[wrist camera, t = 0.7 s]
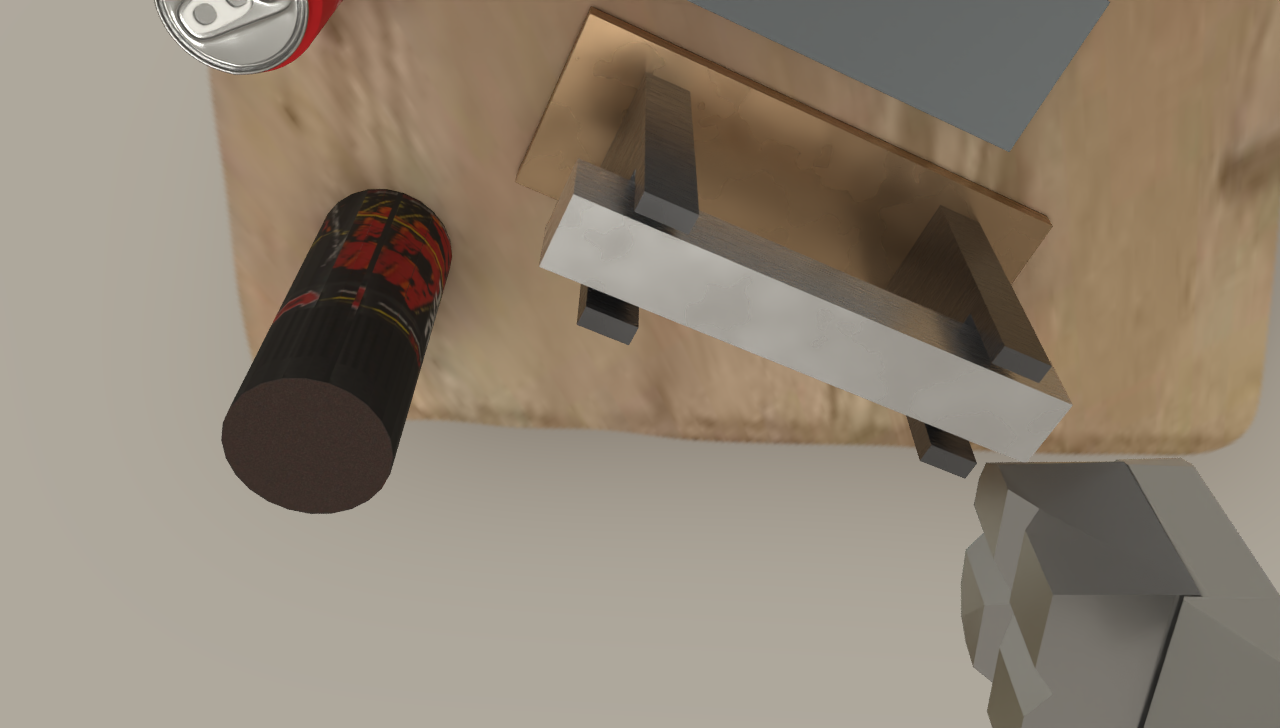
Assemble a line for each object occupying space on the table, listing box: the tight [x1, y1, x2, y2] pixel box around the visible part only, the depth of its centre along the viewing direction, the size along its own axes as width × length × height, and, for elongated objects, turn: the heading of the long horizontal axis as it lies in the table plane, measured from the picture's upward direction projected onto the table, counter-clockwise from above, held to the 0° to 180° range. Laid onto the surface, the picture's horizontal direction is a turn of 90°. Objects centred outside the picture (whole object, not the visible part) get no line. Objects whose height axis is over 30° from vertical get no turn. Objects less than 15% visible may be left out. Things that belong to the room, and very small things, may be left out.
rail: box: [539, 158, 1072, 462], centre depth 45 cm, size 20×3×3 cm, turn 65°
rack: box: [515, 6, 1053, 478], centre depth 48 cm, size 8×22×12 cm, turn 65°
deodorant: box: [222, 189, 452, 514], centre depth 49 cm, size 6×6×15 cm
